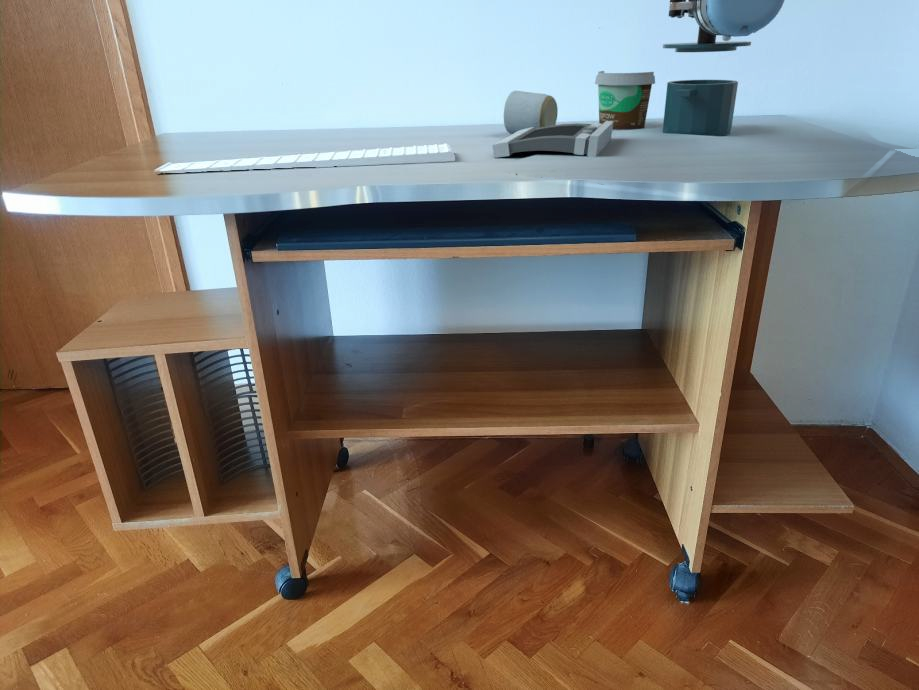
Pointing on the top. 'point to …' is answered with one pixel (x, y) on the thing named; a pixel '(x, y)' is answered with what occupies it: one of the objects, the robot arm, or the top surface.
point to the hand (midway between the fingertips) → (706, 7)
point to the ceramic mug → (529, 111)
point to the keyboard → (326, 159)
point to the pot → (700, 107)
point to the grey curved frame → (557, 139)
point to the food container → (624, 98)
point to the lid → (706, 44)
